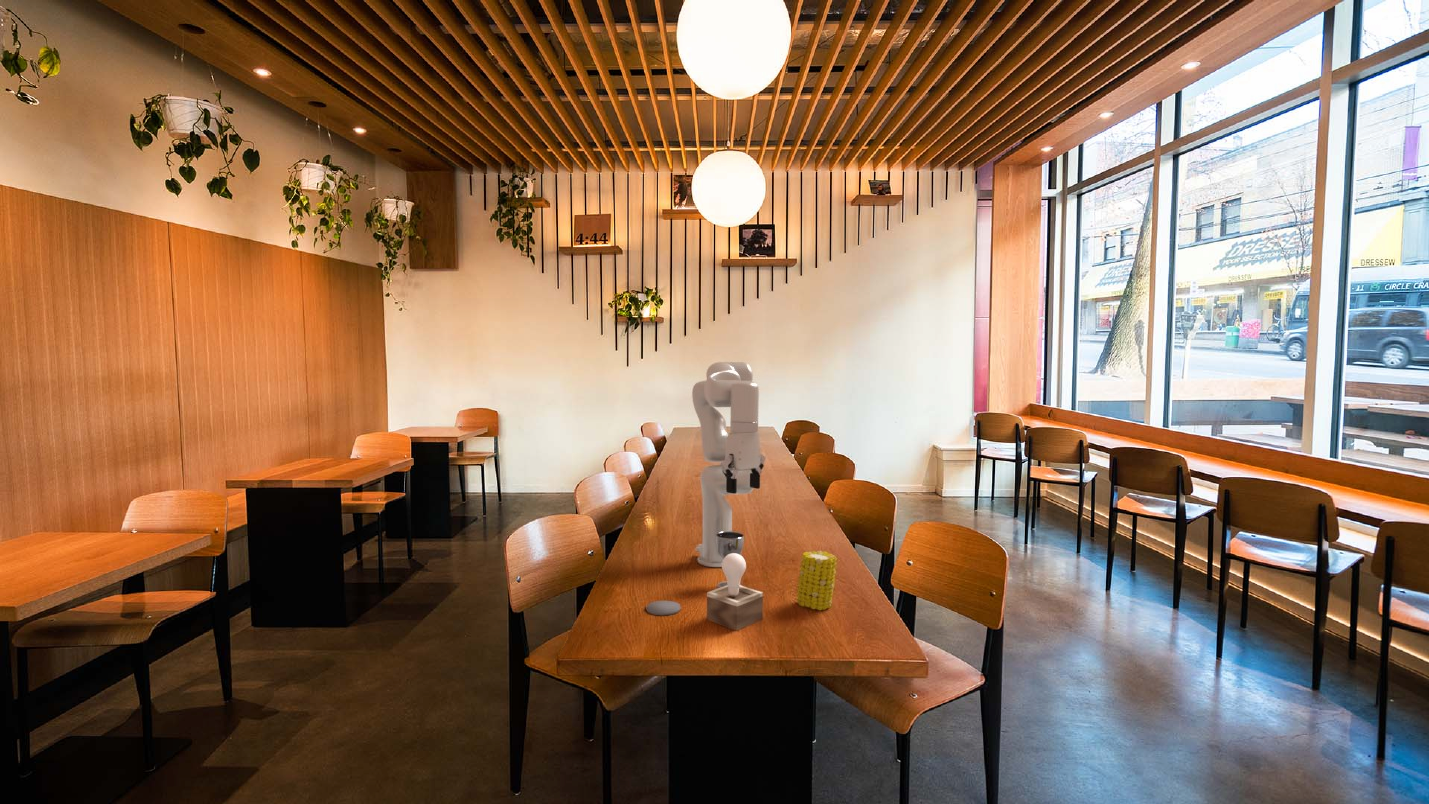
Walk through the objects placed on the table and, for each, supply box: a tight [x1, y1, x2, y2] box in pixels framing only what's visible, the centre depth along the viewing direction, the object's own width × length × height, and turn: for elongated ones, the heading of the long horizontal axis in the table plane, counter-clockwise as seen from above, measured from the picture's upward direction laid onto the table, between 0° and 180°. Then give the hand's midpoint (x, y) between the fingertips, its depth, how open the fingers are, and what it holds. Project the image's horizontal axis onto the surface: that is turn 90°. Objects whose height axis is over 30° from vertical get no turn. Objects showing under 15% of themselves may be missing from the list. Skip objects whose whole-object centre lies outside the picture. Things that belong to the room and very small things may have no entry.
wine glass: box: [716, 530, 745, 588], centre depth 193 cm, size 8×8×15 cm
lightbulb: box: [721, 553, 747, 597], centre depth 168 cm, size 6×6×11 cm
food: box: [796, 550, 838, 611], centre depth 179 cm, size 15×12×10 cm
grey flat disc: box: [645, 600, 681, 617], centre depth 175 cm, size 9×9×1 cm
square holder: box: [706, 584, 764, 632], centre depth 168 cm, size 10×10×7 cm
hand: (743, 490), depth 181 cm, fingers open, 9 cm apart
